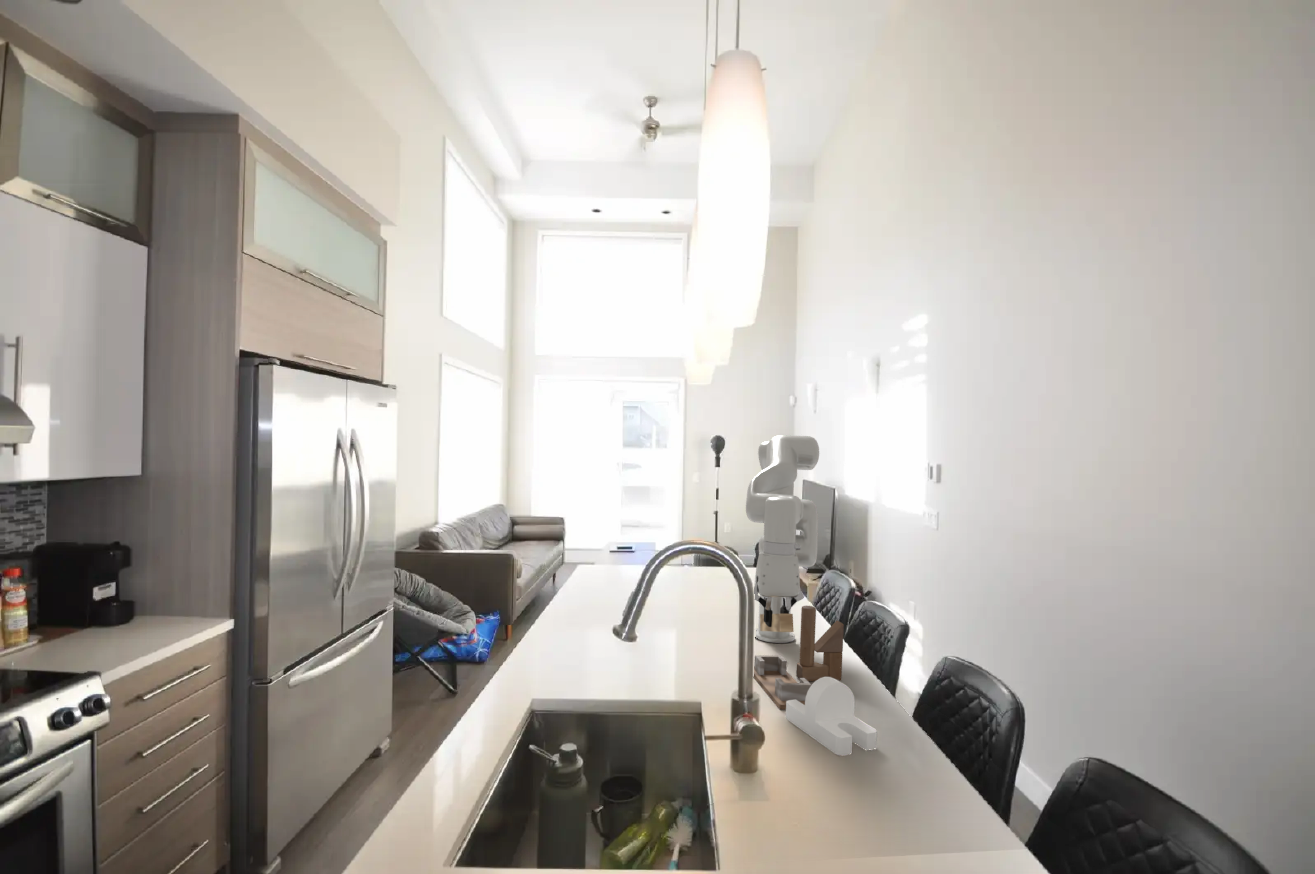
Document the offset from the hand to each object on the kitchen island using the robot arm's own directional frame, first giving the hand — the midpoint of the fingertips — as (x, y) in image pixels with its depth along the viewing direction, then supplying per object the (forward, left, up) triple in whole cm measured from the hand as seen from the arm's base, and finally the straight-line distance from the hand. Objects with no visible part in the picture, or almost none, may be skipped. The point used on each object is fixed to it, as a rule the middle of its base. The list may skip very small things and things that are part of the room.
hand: (775, 624), depth 149 cm
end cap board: (0, +2, -15) cm, 15 cm away
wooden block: (-5, +14, -15) cm, 21 cm away
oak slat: (+1, 0, -2) cm, 2 cm away
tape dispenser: (+24, +4, -16) cm, 28 cm away
